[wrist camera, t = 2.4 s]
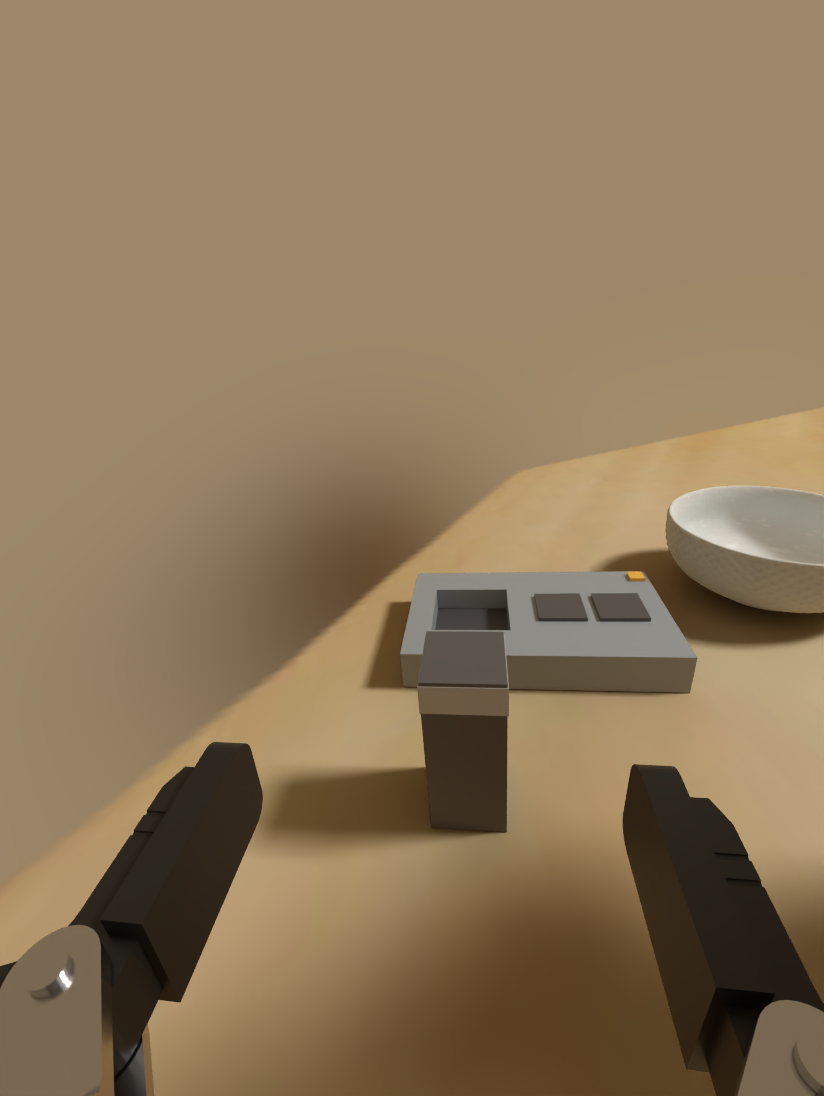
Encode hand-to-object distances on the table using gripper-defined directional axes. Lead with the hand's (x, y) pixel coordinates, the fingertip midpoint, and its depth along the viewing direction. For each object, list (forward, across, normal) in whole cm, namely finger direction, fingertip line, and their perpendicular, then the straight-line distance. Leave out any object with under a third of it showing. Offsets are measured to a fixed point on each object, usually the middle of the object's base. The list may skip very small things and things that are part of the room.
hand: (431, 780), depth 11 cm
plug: (+12, 0, +16) cm, 20 cm away
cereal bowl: (+36, -26, +16) cm, 47 cm away
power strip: (+28, -5, +16) cm, 32 cm away
